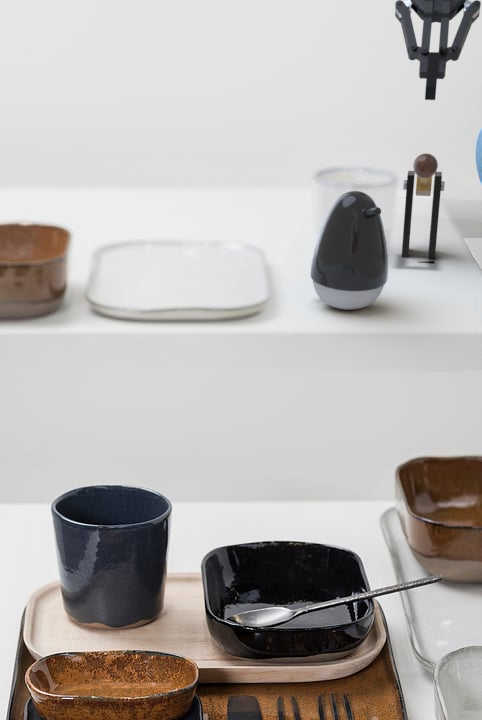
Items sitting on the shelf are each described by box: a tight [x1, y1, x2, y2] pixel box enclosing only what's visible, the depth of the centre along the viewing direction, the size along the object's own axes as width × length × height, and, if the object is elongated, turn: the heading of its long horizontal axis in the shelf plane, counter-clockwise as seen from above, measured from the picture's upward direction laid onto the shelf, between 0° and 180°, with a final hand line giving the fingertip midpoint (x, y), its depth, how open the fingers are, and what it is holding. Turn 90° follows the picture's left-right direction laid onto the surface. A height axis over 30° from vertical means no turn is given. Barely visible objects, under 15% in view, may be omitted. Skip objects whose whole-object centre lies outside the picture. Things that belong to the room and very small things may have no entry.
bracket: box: [401, 170, 446, 265], centre depth 165 cm, size 8×6×14 cm
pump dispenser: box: [310, 190, 389, 311], centre depth 143 cm, size 10×10×15 cm
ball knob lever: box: [412, 153, 439, 197], centre depth 158 cm, size 13×3×3 cm, turn 168°
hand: (430, 93), depth 159 cm, fingers closed
